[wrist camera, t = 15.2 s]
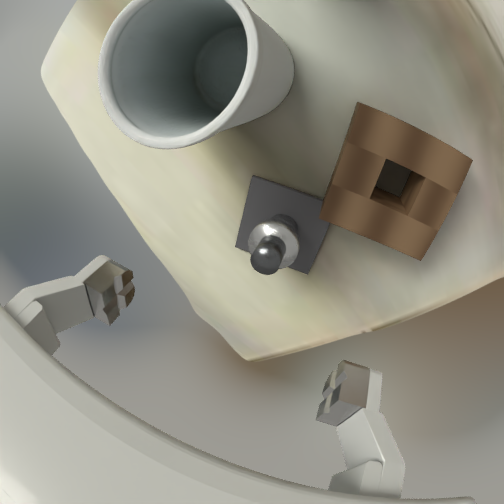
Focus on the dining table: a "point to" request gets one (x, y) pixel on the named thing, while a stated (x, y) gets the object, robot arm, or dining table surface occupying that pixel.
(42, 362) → the robot arm
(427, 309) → the dining table surface
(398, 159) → the socket block
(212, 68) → the utensil holder
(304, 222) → the mat
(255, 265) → the end cover
